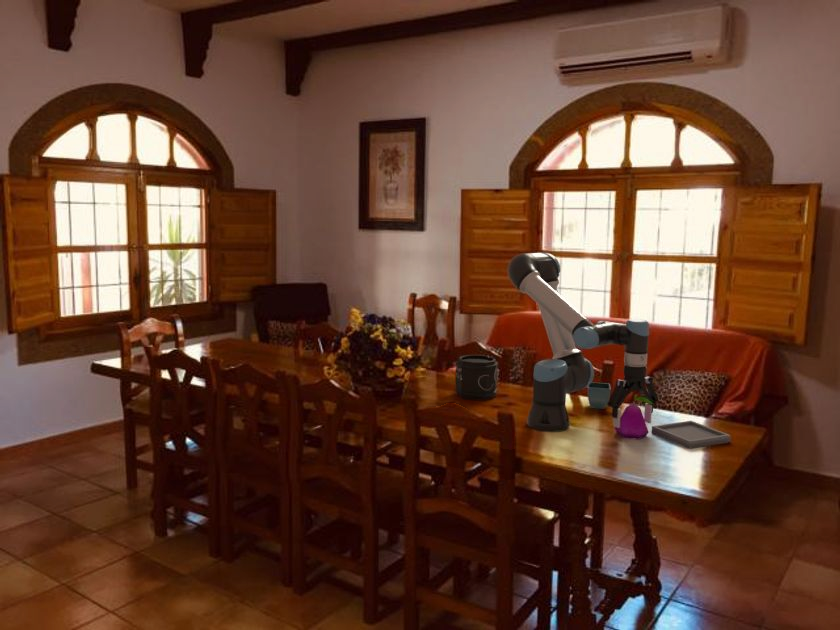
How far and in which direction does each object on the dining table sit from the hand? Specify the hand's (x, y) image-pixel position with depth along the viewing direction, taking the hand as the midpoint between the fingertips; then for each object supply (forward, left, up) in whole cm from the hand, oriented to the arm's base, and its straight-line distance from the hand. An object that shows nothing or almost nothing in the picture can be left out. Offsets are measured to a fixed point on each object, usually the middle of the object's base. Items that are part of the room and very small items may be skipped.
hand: (632, 424), depth 251 cm
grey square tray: (+17, -10, -4) cm, 20 cm away
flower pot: (+11, +33, -4) cm, 35 cm away
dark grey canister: (-25, +67, -4) cm, 72 cm away
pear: (0, 0, -4) cm, 4 cm away
